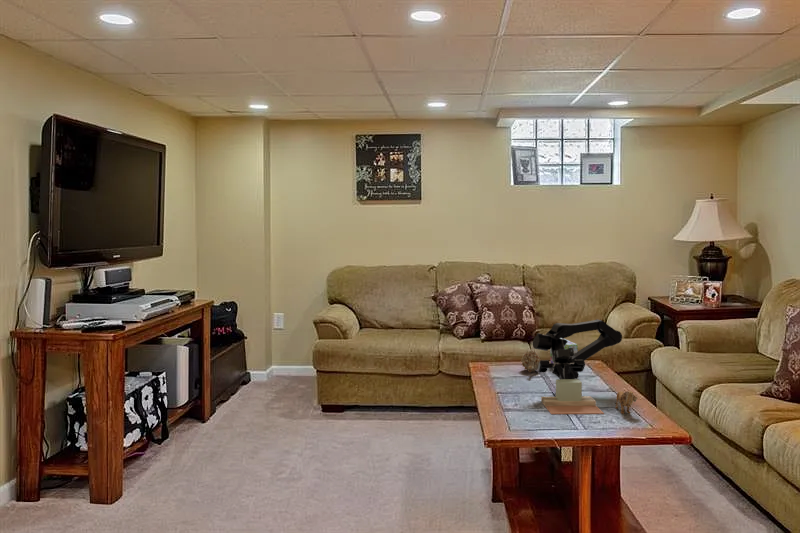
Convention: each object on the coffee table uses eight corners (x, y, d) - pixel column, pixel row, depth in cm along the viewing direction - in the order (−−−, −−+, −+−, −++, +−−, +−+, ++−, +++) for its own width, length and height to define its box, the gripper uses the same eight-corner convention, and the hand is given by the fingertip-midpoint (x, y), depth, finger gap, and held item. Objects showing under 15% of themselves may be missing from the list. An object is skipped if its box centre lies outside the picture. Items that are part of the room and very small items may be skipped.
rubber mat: (545, 406, 240) (545, 406, 240) (596, 406, 240) (596, 405, 240) (551, 414, 231) (551, 413, 231) (604, 413, 231) (604, 413, 231)
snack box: (549, 365, 312) (549, 336, 311) (559, 365, 313) (559, 336, 312) (567, 375, 291) (568, 344, 290) (578, 374, 292) (579, 343, 291)
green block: (555, 397, 246) (555, 379, 246) (578, 397, 246) (578, 379, 246) (558, 401, 241) (559, 382, 241) (581, 400, 241) (581, 382, 241)
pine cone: (519, 367, 308) (520, 348, 308) (539, 368, 307) (539, 348, 306) (522, 378, 286) (522, 357, 286) (543, 378, 285) (543, 357, 284)
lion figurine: (638, 416, 228) (639, 392, 227) (625, 416, 227) (625, 393, 227) (620, 404, 242) (621, 382, 242) (608, 405, 242) (608, 383, 241)
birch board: (541, 401, 248) (541, 396, 248) (590, 401, 248) (590, 396, 247) (545, 406, 241) (545, 401, 241) (595, 406, 241) (595, 401, 240)
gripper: (539, 341, 253) (545, 373, 243) (584, 340, 253) (592, 373, 243) (535, 355, 262) (541, 387, 251) (578, 355, 262) (586, 387, 251)
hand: (565, 383), depth 249 cm, fingers closed
